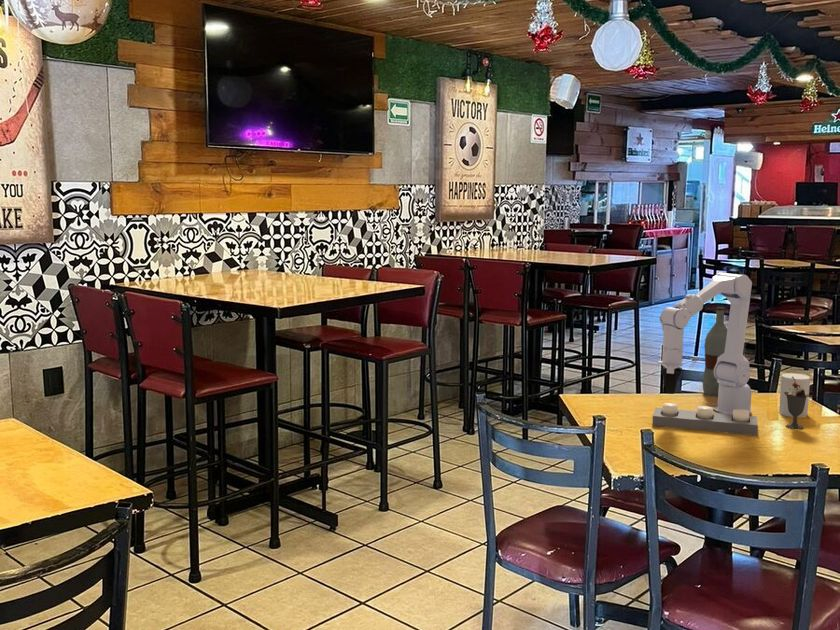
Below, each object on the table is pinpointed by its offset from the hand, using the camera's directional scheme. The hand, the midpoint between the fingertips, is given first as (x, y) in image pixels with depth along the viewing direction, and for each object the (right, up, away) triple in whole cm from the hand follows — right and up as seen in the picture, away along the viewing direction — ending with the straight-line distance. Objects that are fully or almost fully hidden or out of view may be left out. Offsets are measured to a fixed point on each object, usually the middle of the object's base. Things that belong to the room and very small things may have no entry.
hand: (670, 392), depth 249 cm
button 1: (0, -7, +1) cm, 7 cm away
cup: (+42, -8, +12) cm, 44 cm away
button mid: (+9, -7, -2) cm, 12 cm away
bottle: (+27, -4, +37) cm, 46 cm away
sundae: (+36, -10, -3) cm, 37 cm away
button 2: (+19, -8, -6) cm, 21 cm away
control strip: (+9, -10, -2) cm, 14 cm away
